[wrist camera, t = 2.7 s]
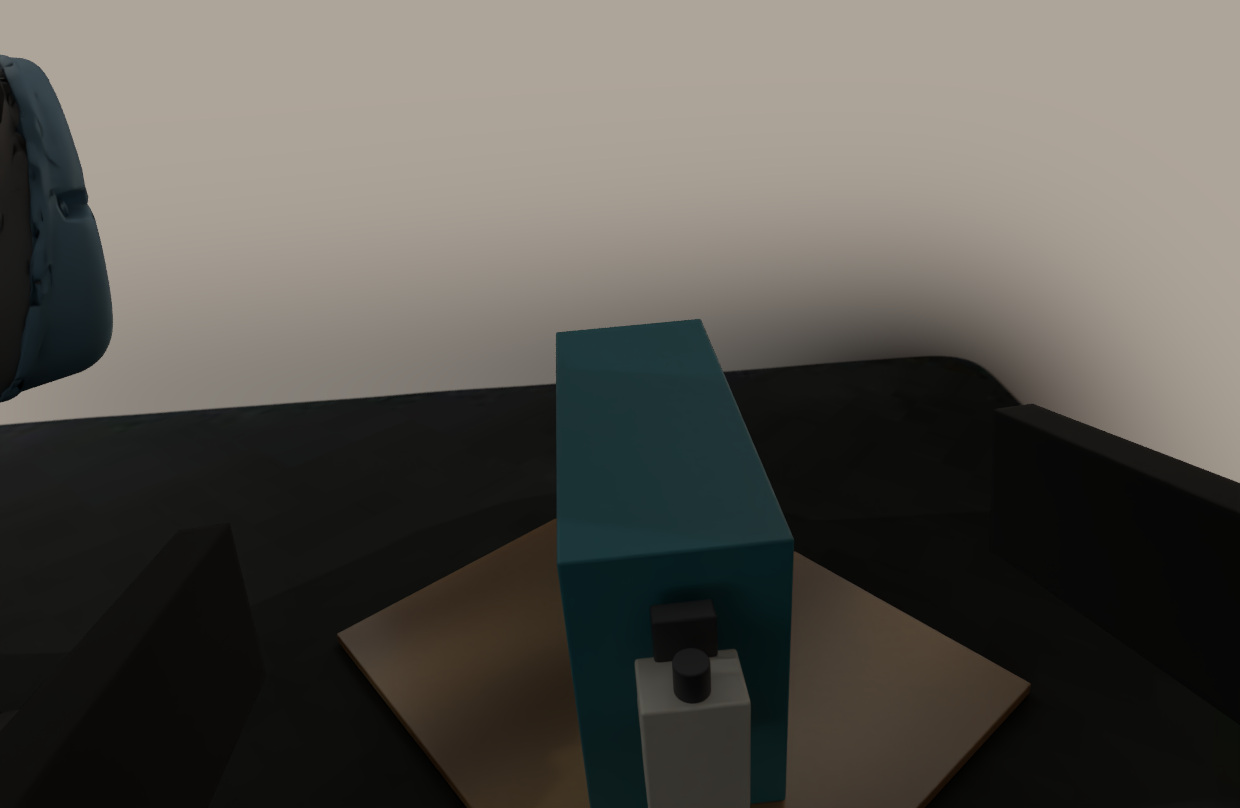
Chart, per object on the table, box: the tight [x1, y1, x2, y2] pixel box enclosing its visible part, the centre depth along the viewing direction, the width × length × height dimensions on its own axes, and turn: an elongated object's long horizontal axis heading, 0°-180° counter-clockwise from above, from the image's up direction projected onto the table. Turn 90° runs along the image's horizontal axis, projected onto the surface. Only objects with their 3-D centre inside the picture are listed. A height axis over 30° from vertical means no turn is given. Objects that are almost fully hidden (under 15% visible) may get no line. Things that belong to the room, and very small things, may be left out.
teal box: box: [556, 319, 794, 808], centre depth 28 cm, size 18×6×10 cm, turn 4°
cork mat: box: [337, 518, 1031, 808], centre depth 31 cm, size 20×17×1 cm
